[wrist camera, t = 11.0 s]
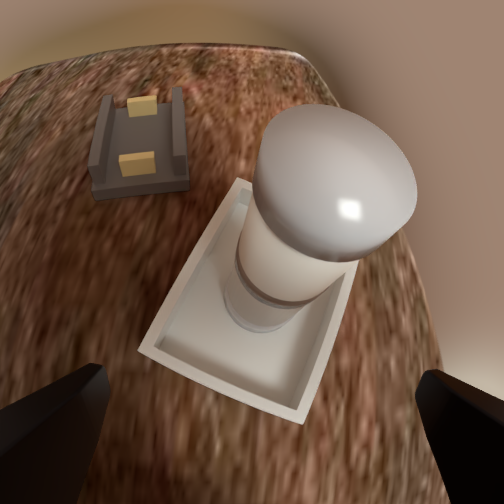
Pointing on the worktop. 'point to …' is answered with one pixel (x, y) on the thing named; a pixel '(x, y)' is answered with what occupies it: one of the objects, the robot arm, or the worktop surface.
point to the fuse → (314, 211)
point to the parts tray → (235, 337)
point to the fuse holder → (139, 148)
